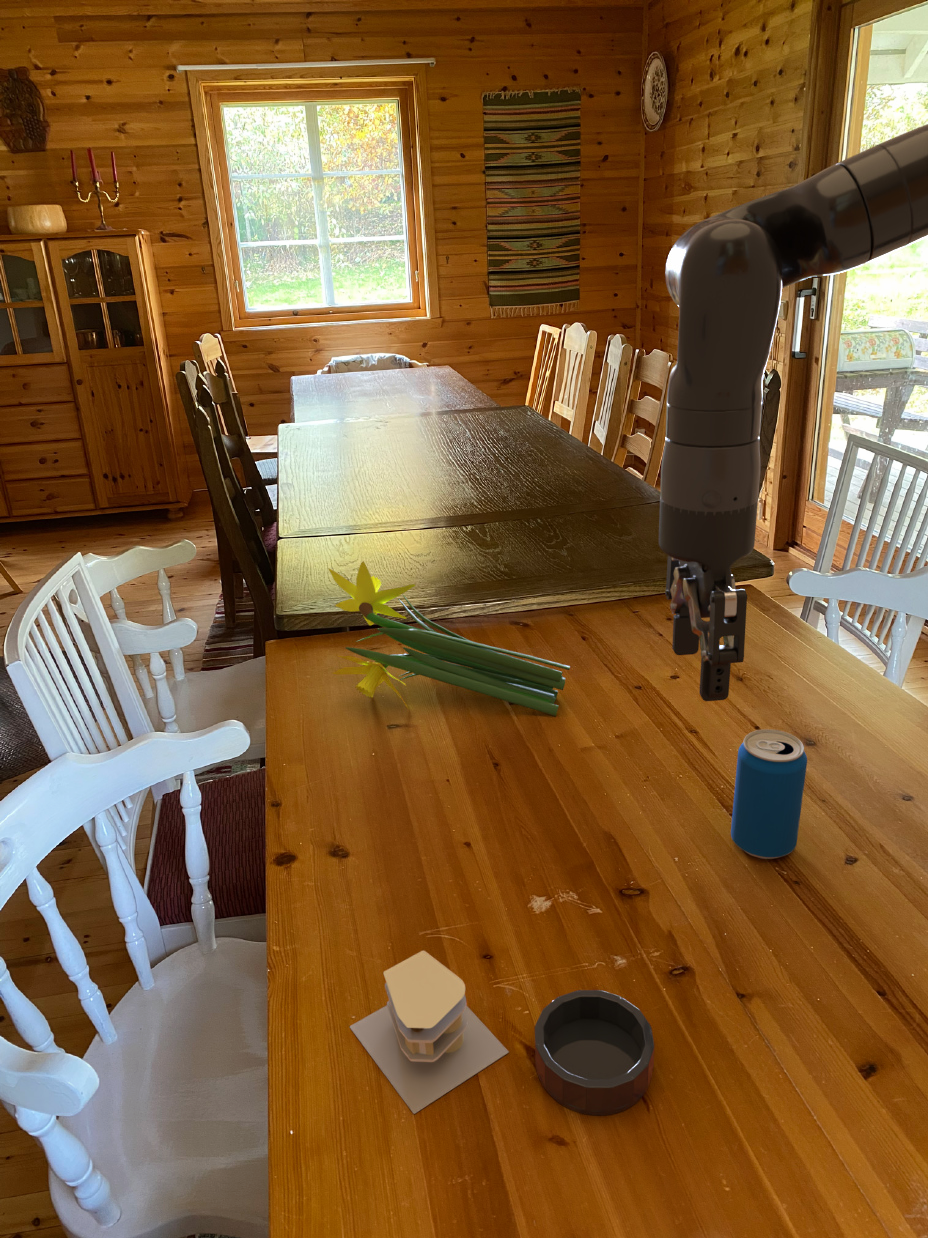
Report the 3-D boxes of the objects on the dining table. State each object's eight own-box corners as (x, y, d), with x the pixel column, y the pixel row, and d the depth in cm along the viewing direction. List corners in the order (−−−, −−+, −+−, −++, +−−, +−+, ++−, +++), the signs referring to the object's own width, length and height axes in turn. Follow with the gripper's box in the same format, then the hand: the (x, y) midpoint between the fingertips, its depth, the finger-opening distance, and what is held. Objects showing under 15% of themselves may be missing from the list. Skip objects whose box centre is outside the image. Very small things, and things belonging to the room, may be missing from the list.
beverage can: (794, 869, 90) (807, 767, 85) (727, 857, 93) (736, 756, 88) (797, 830, 96) (809, 732, 91) (733, 819, 98) (742, 722, 93)
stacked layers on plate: (349, 1027, 76) (342, 977, 73) (439, 975, 80) (435, 927, 78) (414, 1114, 68) (408, 1062, 66) (509, 1052, 73) (507, 1001, 70)
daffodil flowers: (546, 754, 113) (280, 672, 116) (543, 750, 127) (306, 677, 130) (584, 624, 114) (321, 546, 117) (577, 634, 129) (342, 565, 132)
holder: (664, 1037, 73) (666, 1010, 72) (634, 1133, 66) (635, 1105, 65) (558, 1003, 77) (557, 976, 76) (518, 1091, 69) (517, 1063, 68)
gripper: (789, 517, 66) (771, 713, 73) (727, 466, 79) (716, 636, 86) (686, 524, 66) (677, 720, 72) (641, 472, 79) (636, 642, 85)
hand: (698, 674), depth 79 cm, fingers open, 8 cm apart
